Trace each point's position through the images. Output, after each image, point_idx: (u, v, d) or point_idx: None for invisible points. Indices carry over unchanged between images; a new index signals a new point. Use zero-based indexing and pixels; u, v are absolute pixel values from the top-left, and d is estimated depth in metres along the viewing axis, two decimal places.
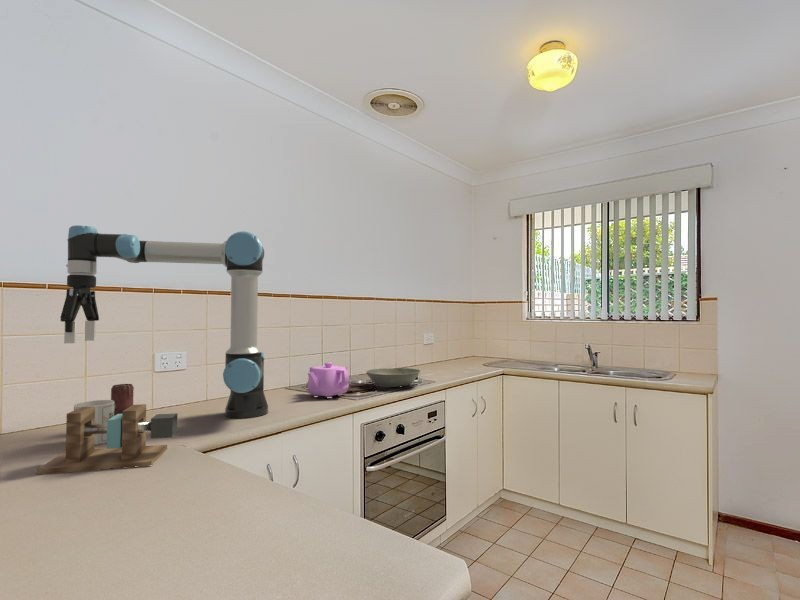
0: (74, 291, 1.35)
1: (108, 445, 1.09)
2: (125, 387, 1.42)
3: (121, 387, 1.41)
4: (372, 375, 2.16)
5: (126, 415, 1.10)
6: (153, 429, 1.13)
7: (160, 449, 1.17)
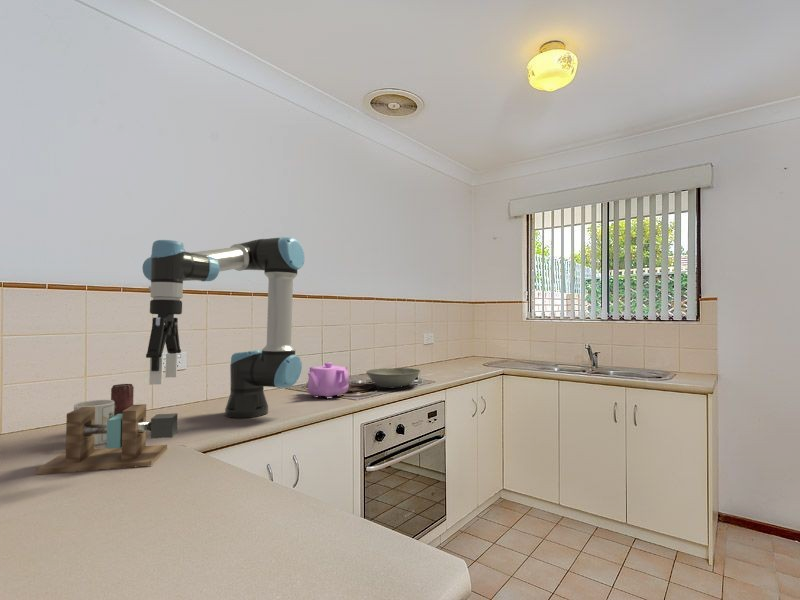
0: (161, 320, 1.10)
1: (108, 445, 1.09)
2: (125, 387, 1.42)
3: (121, 387, 1.41)
4: (372, 375, 2.16)
5: (126, 415, 1.10)
6: (153, 429, 1.13)
7: (160, 449, 1.17)
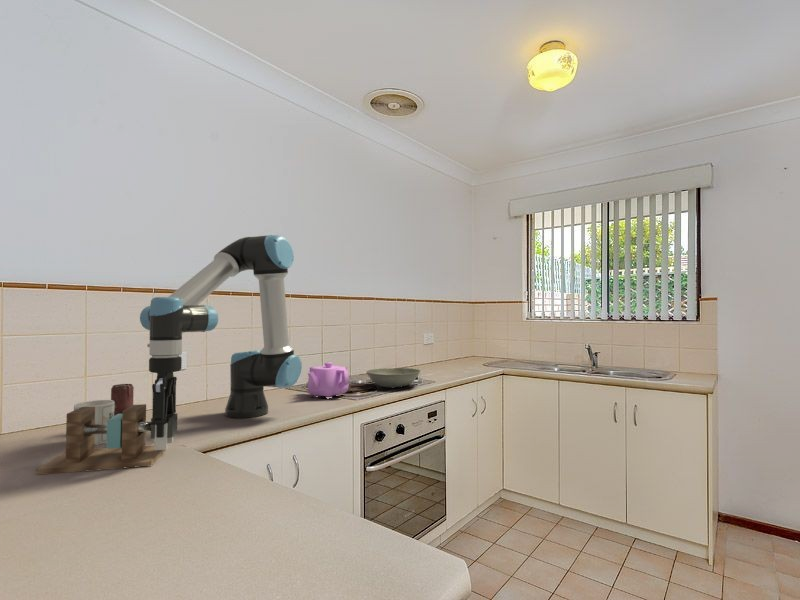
0: (161, 388, 1.10)
1: (108, 445, 1.09)
2: (125, 387, 1.42)
3: (121, 387, 1.41)
4: (372, 375, 2.16)
5: (126, 415, 1.10)
6: (153, 429, 1.13)
7: None
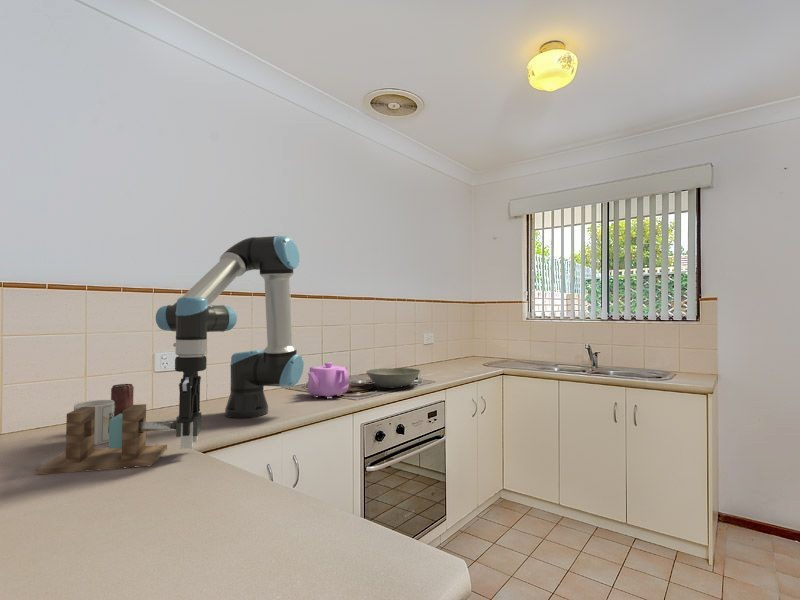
0: (188, 386, 1.11)
1: (110, 445, 1.09)
2: (125, 387, 1.42)
3: (121, 387, 1.41)
4: (372, 375, 2.16)
5: (126, 415, 1.10)
6: (178, 428, 1.14)
7: (160, 449, 1.17)
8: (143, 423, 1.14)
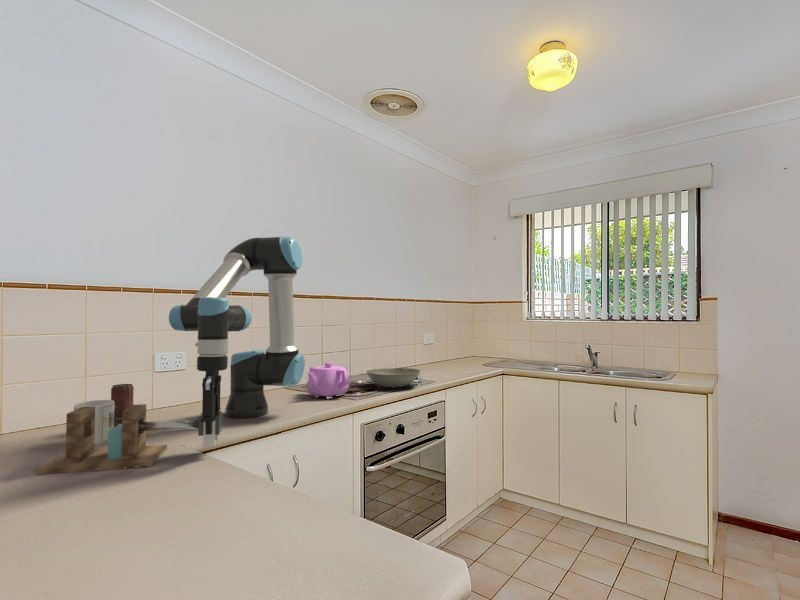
0: (211, 386, 1.12)
1: (109, 456, 1.09)
2: (125, 387, 1.42)
3: (121, 387, 1.41)
4: (372, 375, 2.16)
5: (126, 415, 1.10)
6: (201, 426, 1.15)
7: (160, 449, 1.17)
8: (166, 422, 1.15)
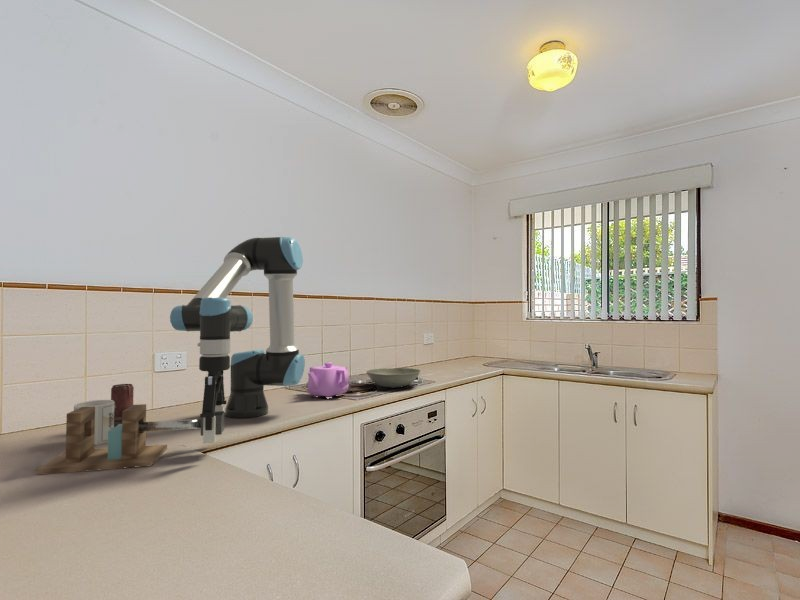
0: (213, 379, 1.12)
1: (109, 456, 1.09)
2: (125, 387, 1.42)
3: (121, 387, 1.41)
4: (372, 375, 2.16)
5: (126, 415, 1.10)
6: None
7: (160, 449, 1.17)
8: (168, 422, 1.15)
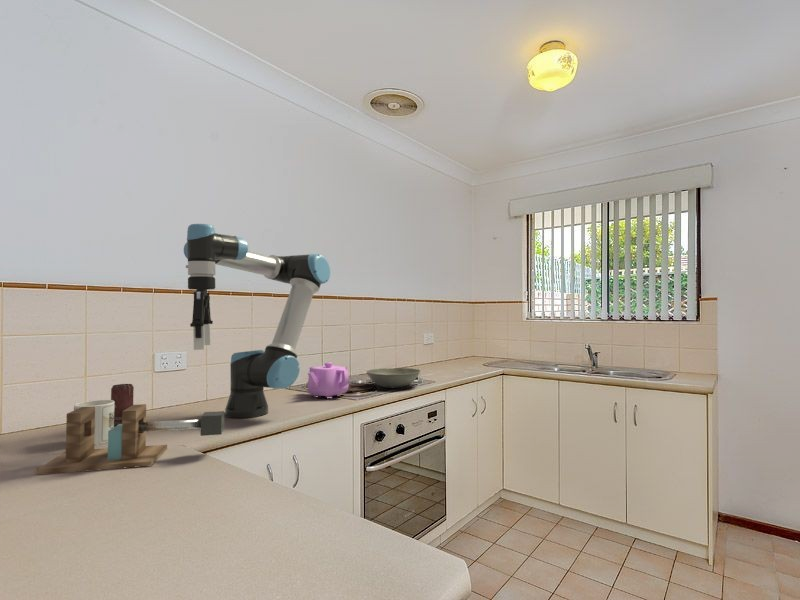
0: (201, 294, 1.27)
1: (109, 456, 1.09)
2: (125, 387, 1.42)
3: (121, 387, 1.41)
4: (372, 375, 2.16)
5: (126, 415, 1.10)
6: (203, 426, 1.15)
7: (160, 449, 1.17)
8: (168, 422, 1.15)
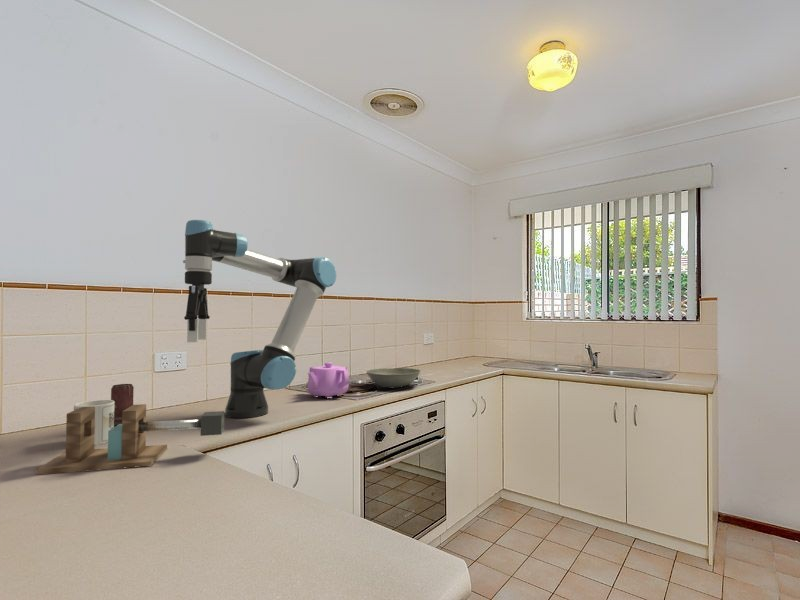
0: (196, 288, 1.29)
1: (109, 456, 1.09)
2: (125, 387, 1.42)
3: (121, 387, 1.41)
4: (372, 375, 2.16)
5: (126, 415, 1.10)
6: (203, 426, 1.15)
7: (160, 449, 1.17)
8: (168, 422, 1.15)
